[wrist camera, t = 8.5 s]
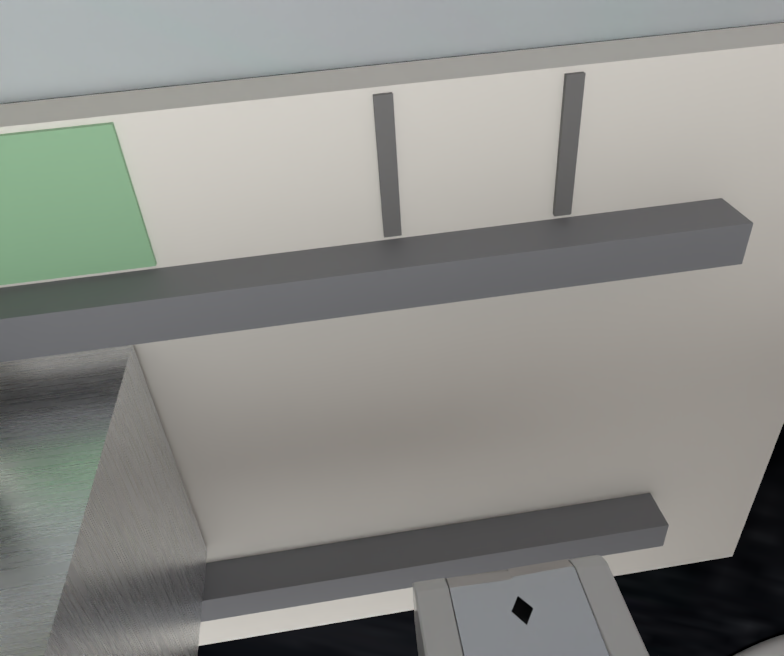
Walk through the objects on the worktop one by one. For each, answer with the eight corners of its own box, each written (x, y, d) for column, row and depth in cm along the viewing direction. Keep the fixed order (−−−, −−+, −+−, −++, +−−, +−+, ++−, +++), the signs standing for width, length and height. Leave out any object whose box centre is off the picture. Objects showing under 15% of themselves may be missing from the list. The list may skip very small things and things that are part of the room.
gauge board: (881, 12, 12) (1465, 173, 6) (710, 521, 20) (887, 797, 14) (-632, 169, 10) (-1882, 617, 4) (-137, 659, 18) (-329, 1040, 12)
